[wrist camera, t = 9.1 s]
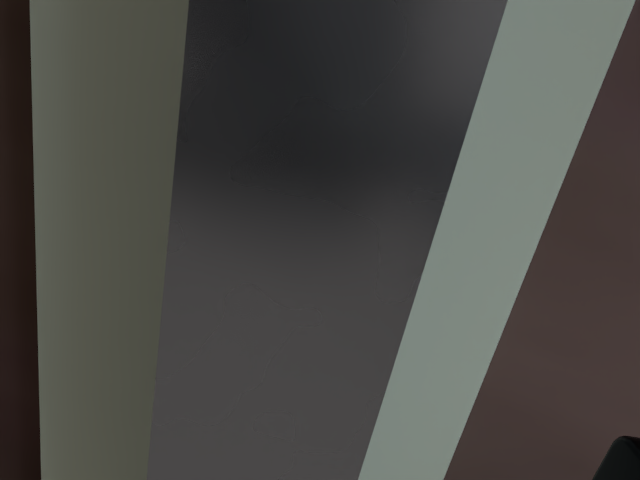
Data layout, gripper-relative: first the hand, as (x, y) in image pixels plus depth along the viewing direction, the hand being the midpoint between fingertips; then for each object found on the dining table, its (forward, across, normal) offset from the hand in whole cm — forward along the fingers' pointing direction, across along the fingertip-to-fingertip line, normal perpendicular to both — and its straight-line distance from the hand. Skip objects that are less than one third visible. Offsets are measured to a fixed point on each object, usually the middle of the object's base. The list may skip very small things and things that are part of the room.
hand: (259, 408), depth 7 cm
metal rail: (+3, 0, 0) cm, 3 cm away
